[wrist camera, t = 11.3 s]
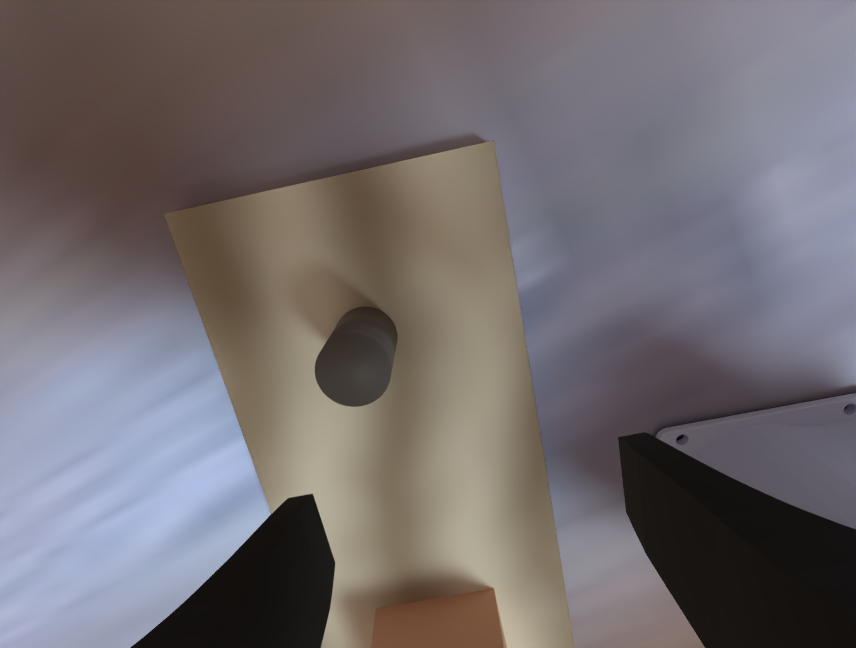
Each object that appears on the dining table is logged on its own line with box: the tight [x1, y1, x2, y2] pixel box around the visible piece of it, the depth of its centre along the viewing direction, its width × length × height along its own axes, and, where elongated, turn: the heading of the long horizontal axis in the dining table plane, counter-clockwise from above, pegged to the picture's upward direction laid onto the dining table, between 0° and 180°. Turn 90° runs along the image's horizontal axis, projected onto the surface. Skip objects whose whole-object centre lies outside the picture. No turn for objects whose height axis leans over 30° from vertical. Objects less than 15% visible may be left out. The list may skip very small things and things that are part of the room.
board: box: [164, 141, 575, 648], centre depth 20 cm, size 12×28×5 cm, turn 12°
